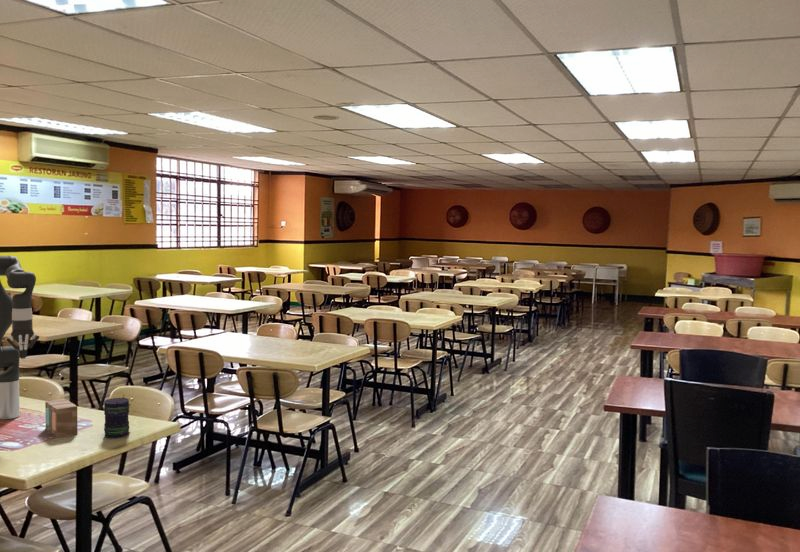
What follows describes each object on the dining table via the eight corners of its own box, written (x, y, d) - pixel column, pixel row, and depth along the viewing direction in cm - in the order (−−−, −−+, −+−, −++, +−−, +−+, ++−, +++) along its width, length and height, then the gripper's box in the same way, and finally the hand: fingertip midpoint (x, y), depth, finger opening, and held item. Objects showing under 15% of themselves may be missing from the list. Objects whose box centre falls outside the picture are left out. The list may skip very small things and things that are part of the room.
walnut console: (45, 428, 283) (45, 401, 282) (65, 425, 288) (65, 398, 288) (57, 437, 270) (56, 409, 270) (77, 433, 276) (77, 406, 275)
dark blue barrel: (104, 433, 278) (104, 398, 277) (129, 430, 282) (128, 397, 281) (104, 439, 268) (103, 404, 268) (129, 437, 272) (129, 402, 272)
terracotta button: (51, 428, 274) (51, 411, 274) (67, 426, 279) (67, 409, 278) (55, 431, 271) (55, 414, 271) (70, 428, 275) (70, 411, 275)
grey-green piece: (45, 423, 281) (45, 407, 281) (60, 421, 286) (60, 404, 285) (48, 426, 278) (48, 409, 277) (64, 423, 282) (63, 407, 282)
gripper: (37, 316, 281) (38, 354, 283) (2, 318, 272) (3, 358, 274) (41, 318, 276) (42, 358, 277) (6, 320, 267) (7, 361, 268)
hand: (22, 358), depth 276 cm, fingers closed
